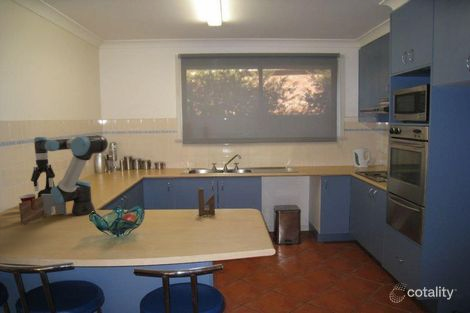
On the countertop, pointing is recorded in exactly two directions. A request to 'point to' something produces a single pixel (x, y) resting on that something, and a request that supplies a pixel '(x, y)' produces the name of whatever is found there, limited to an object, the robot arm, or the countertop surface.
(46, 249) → the countertop surface
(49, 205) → the notched grey panel
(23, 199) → the plastic cup
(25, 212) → the walnut board
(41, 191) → the dark brown vase
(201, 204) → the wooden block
